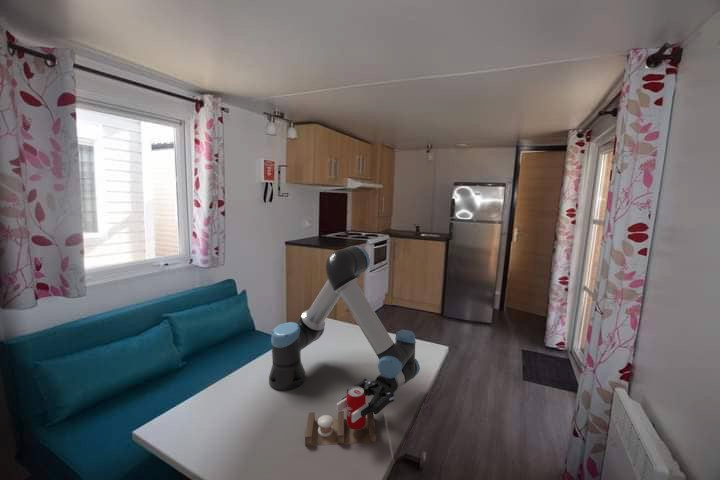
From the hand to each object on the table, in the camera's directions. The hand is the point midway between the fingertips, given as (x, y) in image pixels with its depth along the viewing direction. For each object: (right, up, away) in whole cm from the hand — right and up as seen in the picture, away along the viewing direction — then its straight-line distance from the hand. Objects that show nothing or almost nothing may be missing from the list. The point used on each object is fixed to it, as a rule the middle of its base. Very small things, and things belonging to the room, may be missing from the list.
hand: (344, 413), depth 97 cm
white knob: (-7, -8, +4) cm, 12 cm away
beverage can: (+3, -7, +5) cm, 9 cm away
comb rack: (-2, -9, +5) cm, 11 cm away
